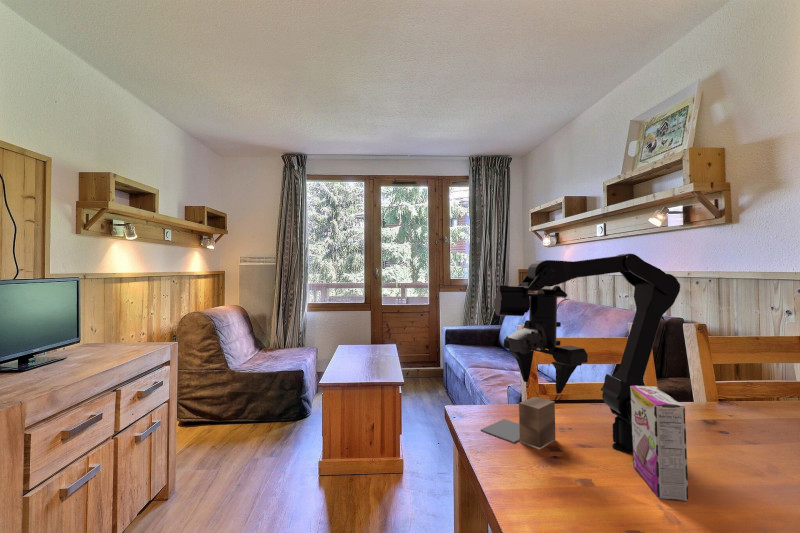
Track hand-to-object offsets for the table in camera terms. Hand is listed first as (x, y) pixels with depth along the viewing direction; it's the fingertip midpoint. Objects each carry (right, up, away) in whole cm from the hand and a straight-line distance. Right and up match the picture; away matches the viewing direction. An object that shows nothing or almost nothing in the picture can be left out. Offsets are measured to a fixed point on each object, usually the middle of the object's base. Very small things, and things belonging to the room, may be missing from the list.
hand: (541, 387), depth 84 cm
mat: (-4, -14, +10) cm, 18 cm away
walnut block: (+1, -14, +4) cm, 14 cm away
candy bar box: (+16, -13, -14) cm, 25 cm away
